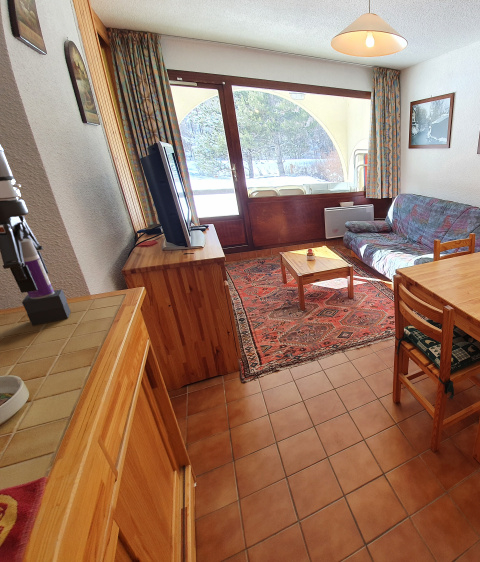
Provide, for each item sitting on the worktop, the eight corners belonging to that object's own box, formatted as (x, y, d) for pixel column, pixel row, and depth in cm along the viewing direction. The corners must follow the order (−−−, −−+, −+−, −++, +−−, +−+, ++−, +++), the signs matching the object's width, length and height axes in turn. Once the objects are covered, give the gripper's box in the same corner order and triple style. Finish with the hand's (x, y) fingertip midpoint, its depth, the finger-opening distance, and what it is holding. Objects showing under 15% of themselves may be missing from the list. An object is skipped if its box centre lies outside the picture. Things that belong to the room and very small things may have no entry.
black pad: (32, 325, 81) (26, 314, 80) (36, 318, 85) (31, 306, 84) (68, 318, 85) (63, 307, 84) (70, 311, 89) (66, 300, 88)
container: (28, 300, 79) (2, 244, 74) (30, 294, 83) (5, 240, 77) (54, 295, 82) (30, 241, 76) (55, 290, 86) (32, 237, 80)
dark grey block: (27, 314, 80) (21, 302, 79) (32, 306, 84) (26, 295, 82) (63, 307, 84) (59, 295, 83) (66, 300, 88) (62, 289, 86)
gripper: (6, 205, 65) (46, 295, 74) (34, 192, 84) (63, 265, 92) (-49, 208, 61) (-1, 303, 70) (-7, 194, 80) (27, 270, 88)
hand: (36, 282), depth 81 cm, fingers open, 13 cm apart
